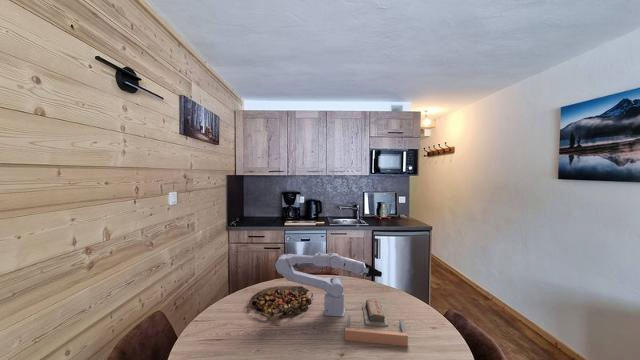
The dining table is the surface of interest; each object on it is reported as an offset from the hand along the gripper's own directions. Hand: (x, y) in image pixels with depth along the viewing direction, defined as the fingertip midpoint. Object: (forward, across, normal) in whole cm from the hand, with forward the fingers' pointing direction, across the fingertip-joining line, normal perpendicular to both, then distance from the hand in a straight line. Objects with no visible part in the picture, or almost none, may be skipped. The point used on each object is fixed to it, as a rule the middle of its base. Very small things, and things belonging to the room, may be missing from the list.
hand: (379, 273), depth 131 cm
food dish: (-41, +16, +30) cm, 54 cm away
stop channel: (0, -11, +23) cm, 25 cm away
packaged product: (+3, +2, +20) cm, 20 cm away
